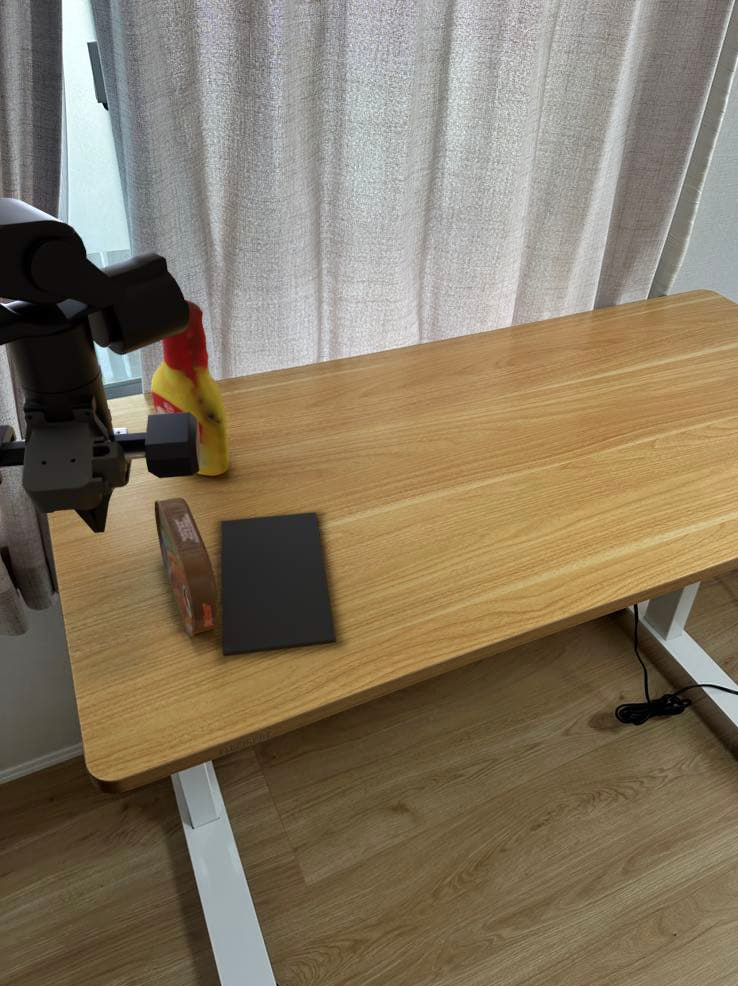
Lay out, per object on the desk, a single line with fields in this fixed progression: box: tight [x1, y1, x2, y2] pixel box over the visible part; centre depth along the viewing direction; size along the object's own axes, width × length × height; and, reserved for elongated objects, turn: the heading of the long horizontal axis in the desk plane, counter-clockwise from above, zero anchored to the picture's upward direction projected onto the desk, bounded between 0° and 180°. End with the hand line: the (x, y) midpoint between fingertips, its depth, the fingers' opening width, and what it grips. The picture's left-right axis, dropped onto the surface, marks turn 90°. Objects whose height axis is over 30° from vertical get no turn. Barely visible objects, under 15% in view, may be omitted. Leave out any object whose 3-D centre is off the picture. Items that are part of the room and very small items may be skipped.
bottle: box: [150, 299, 230, 477], centre depth 88 cm, size 12×6×20 cm, turn 37°
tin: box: [154, 497, 220, 637], centre depth 74 cm, size 15×3×8 cm, turn 25°
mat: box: [220, 511, 337, 656], centre depth 79 cm, size 10×18×1 cm, turn 11°
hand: (100, 529), depth 70 cm, fingers closed
